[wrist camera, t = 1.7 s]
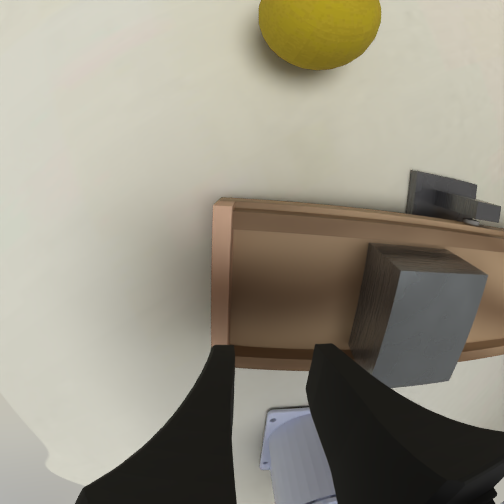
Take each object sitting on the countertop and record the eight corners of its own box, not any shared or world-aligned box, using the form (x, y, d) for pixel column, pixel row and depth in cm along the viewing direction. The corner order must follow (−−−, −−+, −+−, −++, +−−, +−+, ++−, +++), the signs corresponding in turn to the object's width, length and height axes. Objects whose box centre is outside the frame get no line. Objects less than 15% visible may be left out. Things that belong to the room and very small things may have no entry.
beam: (518, 336, 18) (538, 354, 15) (219, 344, 19) (211, 378, 16) (549, 234, 15) (575, 246, 12) (223, 192, 16) (213, 200, 13)
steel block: (420, 341, 16) (448, 380, 12) (348, 344, 16) (366, 389, 13) (446, 249, 14) (488, 275, 11) (368, 242, 15) (401, 270, 11)
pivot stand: (431, 347, 22) (461, 380, 17) (373, 354, 22) (400, 395, 17) (470, 183, 18) (517, 194, 13) (410, 170, 17) (459, 178, 13)
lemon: (334, 8, 14) (389, -55, 6) (349, 84, 16) (425, 48, 8) (246, 7, 14) (259, -72, 6) (258, 87, 15) (283, 35, 8)
